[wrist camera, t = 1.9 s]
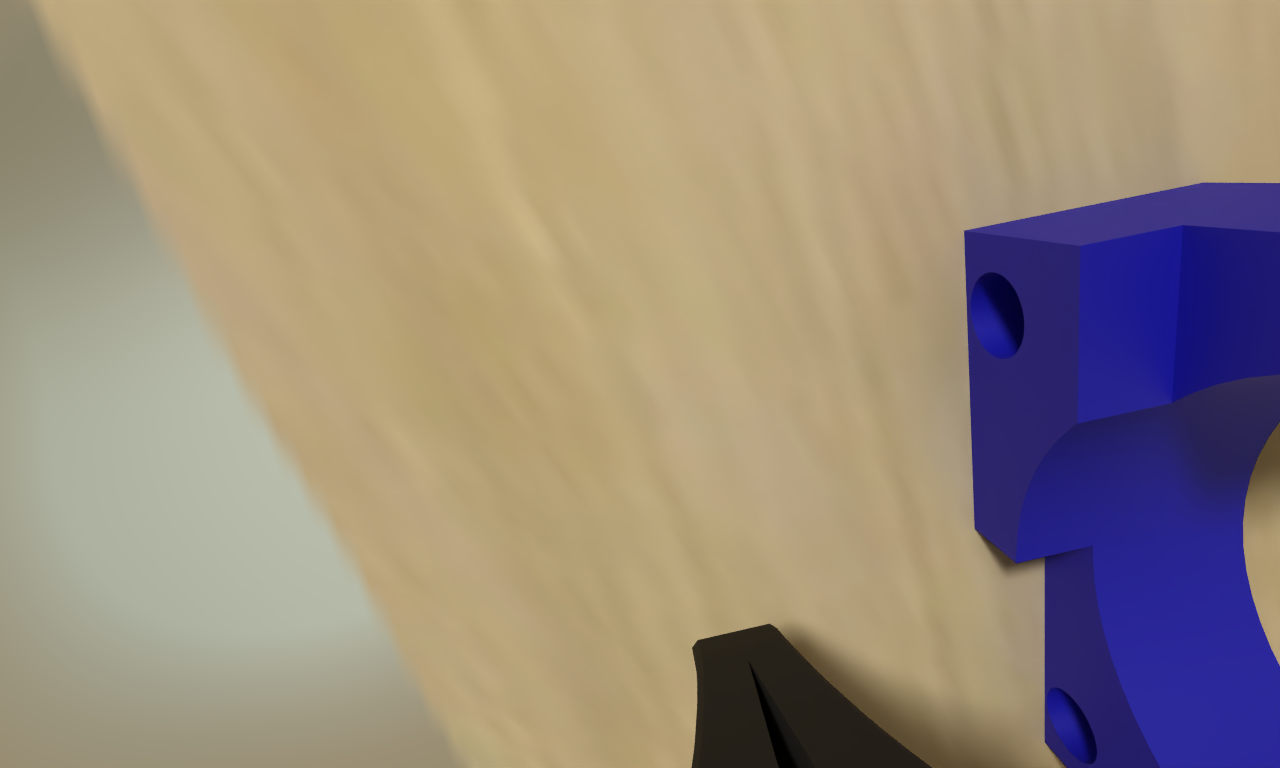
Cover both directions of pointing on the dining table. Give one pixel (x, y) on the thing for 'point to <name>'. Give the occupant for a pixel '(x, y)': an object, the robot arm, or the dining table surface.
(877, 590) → the dining table surface
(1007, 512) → the blue plastic bracket
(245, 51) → the dining table surface
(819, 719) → the robot arm
